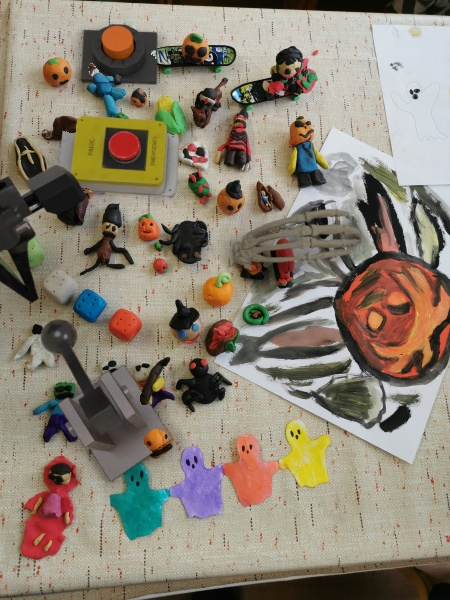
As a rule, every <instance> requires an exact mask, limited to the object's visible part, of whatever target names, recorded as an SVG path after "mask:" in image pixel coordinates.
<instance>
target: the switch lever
mask: <svg viewBox="0 0 450 600" xmlns="http://www.w3.org/2000/svg"><path fill="white" fill-rule="evenodd" d="M40 341H41V345H42V346H43V348H44V349H45V350H46V351H47V352H48V353H50V354H53V355H61V356H62V357H63V360H64V362H65V363H66V365H67V367H68V368H69V371H70V373H71V374H72V376H73V378H74V380H75V382H76V383H77V385H78V387H79V389H80V391H81V393H83V395H84V396H83V397H82V398H80V399H79V400H78V401H79V403H80V405H81V407H82V409H83V411H84V413H85V415H86V417H87V419H88V421H89V422H90V423H91V424H92V426H93V427H94V428H95V429H96V431H97V432H98V433H99V434H100V435H102V434H103V433H105V432H106V431H108V430H109V429H111V428H112V427H114V426H115V425H117V424H118V423H120V422H121V421H122V420H121V418H120V416H119V414H118V413H117V411H116V409H115V408H114V406H113V404H112V403H111V401H110V399H109V398H108V397H107V395H106V394H105V393H104V391H103V390H102V388H101V387H100V386H99V387H97V388H95V387H94V383H93V381H92V380H91V378H90V376H89V374H88V373H87V371H86V369H85V368H84V366H83V364H82V362H81V361H80V359H79V356H78V355H77V353H76V352H75V350H74V347H75V346H76V344H77V341H78V331H77V329H76V327H75V326H74V324H73V323H72V322H70V321H68V320H66V319H62V318H55V319H52V320H50V321H48V322H47V323H46V324H45V325H44V327H43V328H42V330H41V333H40Z"/></svg>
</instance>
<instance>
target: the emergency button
mask: <svg viewBox="0 0 450 600" xmlns="http://www.w3.org/2000/svg"><path fill="white" fill-rule="evenodd" d="M75 125H76V132H75V133H69V132H67V131H66V132H65V131H63V130H62V134H61V142H60V150H59V157H58V164H57V165H58V166H61V167H64V168H65V169H67V170H68V171H69V172H70V173H72V174H73V175H74V176H75V178H76V179H77V181H78V182H79V184H80V186H81V188H84V189H85V188H87V189H90V190H91V191H92V192H89V191H84V193H85V194H94V195H97V194H98V195H105V194H107V193H108V194H121V195H137V196H138V195H139V196H152V197H153V196H154V197H169V198H173V197H174V196H175V195H176V193H177V183H178V167H179V166H178V165H179V149H180V136H179V135H178V133H176V134H175V135H171V134H169V133H167V131H168V127H167V125H166V123H165V122H164V121H162V120H153V119H139V118H138V119H137V118H136V119H135V118H124V117H122V118H121V117H109V116H108V117H107V116H96V115H95V116H94V115H81V116H79V117H78V118H77V120H76V124H75Z"/></svg>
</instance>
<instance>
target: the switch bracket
mask: <svg viewBox="0 0 450 600" xmlns="http://www.w3.org/2000/svg"><path fill="white" fill-rule="evenodd" d="M98 378H99V380H98V381H96V382H95V383H93V385H94V387H95V388H97V387H99V386H100V387H101V388H102V390H103V391H104V393H105V394H106V395H107V397H108V398H109V399H110V401H111V403H112V404H113V406H114V408H115V409H116V411H117V413H118V414H119V416H120V418H121V420H122V421H121V422H120V423H118V424H117V425H115V426H114V427H112V428H111V429H109V430H108V431H106V432H105V433H103V434H102V435H100V434H99V433H98V432H97V431H96V429H95V428H94V427H93V426H92V424H91V423H90V422H89V421H88V419H87V417H86V415H85V413H84V411H83V409H82V407H81V405H80V403H79V401H78V400H79V399H80V398H82V397H83V396H84V395H83V393H82V392H80V393H78V394H77V395H75V396H74V397H72V398H70V397H65V398H64V399H63V400H61V401H59V402H58V403H57V405H58V407H59V409H60V410H61V412H62V414H63V416H64V417H65V419H66V420H67V422H66V423H65V427H66V429H67V430H68V432H69V434H70V435H71V436H72V437H73V438H76V437H77V438H78V440H79V441H80V443H81V445H82V447H83V448H84V449H89V450H90V452H91V453H92V456H94V458H95V460H96V461H97V462H98V465H99V466H100V468H101V469H102V471H103V473H104V474H105V476H106V477H107V479H108V481H109V482H110V483H112V482H114V481H115V480H117V479H118V478H119V477H121V476H122V475H124V474H125V473H126V472H128V471H130V470H131V469H133V468H134V467H135V466H137V465H138V464H140V463H141V462H143V461H144V460H145V459H147V458H148V457H149V456H151V455H153V454H154V453H153V452H152V451H150V449H149V448H147V446H146V445H145V444H144V440H143V439H144V437H145V436H146V435H147V434H148V433H149V432H150V431H151V430H153V429H159V430H162V431H164V432H165V433H166V434H167V436H168V437H167V439H168V440H167V442H166V443H167V444H169V442H171V441H172V440H173V437H172V435H171V434H170V432H169V431H168V429H167V428H166V426H165V424H164V423H163V421H162V420H161V418H160V417H159V415H158V413H157V412H156V411H155V409H154V408H153V406H152V405H151V402H149V404H148V405H142V404H141V402H140V395H141V393H142V392H143V391H142V389H141V387H140V386H139V384H138V382H137V381H136V380H135V378H134V377H133V375H132V374H131V372H130V371H129V369H128V368H127V366H126V365H125V364H123V365H122V366H119V368H117V369H115V370H114V371H112V372H111V371H110V370H107V371H106V372H104V373H102V374H100V375H99V377H98Z"/></svg>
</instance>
